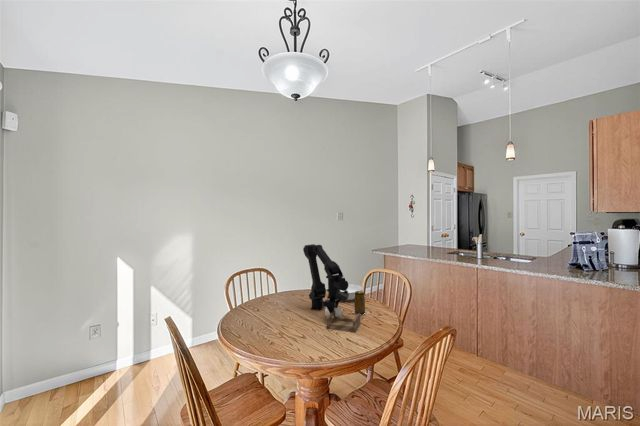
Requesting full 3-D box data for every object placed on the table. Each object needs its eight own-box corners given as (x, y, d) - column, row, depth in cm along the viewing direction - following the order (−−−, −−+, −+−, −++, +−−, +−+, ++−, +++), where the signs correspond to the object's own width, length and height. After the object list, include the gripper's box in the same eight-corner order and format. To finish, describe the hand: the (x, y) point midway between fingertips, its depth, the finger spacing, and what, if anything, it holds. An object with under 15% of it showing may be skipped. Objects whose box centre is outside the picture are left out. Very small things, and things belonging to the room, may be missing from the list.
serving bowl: (357, 292, 214) (357, 283, 214) (367, 301, 194) (366, 291, 193) (328, 295, 211) (328, 285, 210) (335, 304, 190) (335, 293, 190)
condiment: (359, 309, 180) (359, 289, 180) (370, 313, 173) (370, 292, 173) (351, 312, 175) (350, 292, 175) (361, 316, 169) (361, 295, 168)
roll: (325, 318, 170) (324, 310, 168) (328, 312, 174) (327, 304, 173) (341, 319, 166) (340, 311, 165) (343, 314, 171) (342, 306, 169)
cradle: (326, 328, 154) (326, 317, 154) (333, 320, 164) (333, 310, 164) (355, 332, 148) (355, 321, 148) (360, 323, 159) (360, 313, 158)
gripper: (342, 292, 158) (342, 322, 158) (351, 283, 175) (352, 310, 175) (322, 291, 162) (323, 319, 162) (333, 282, 179) (334, 308, 179)
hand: (334, 314), depth 170 cm, fingers closed on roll, 5 cm apart
